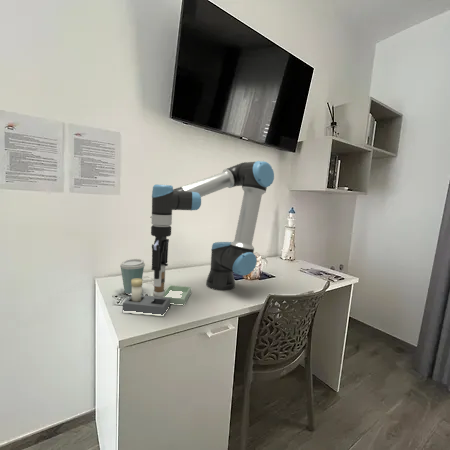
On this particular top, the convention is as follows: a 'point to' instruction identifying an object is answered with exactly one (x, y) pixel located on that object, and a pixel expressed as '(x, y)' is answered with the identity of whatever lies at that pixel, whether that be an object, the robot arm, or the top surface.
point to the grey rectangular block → (148, 305)
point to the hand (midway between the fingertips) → (159, 283)
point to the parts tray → (185, 294)
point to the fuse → (136, 289)
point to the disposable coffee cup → (131, 272)
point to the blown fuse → (160, 290)
